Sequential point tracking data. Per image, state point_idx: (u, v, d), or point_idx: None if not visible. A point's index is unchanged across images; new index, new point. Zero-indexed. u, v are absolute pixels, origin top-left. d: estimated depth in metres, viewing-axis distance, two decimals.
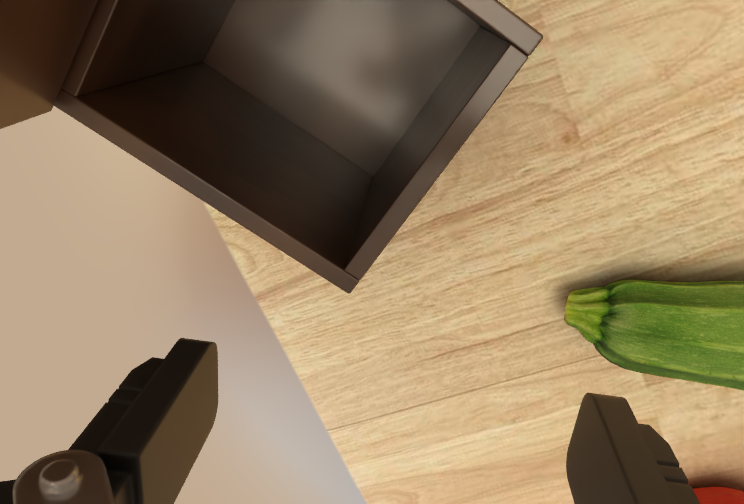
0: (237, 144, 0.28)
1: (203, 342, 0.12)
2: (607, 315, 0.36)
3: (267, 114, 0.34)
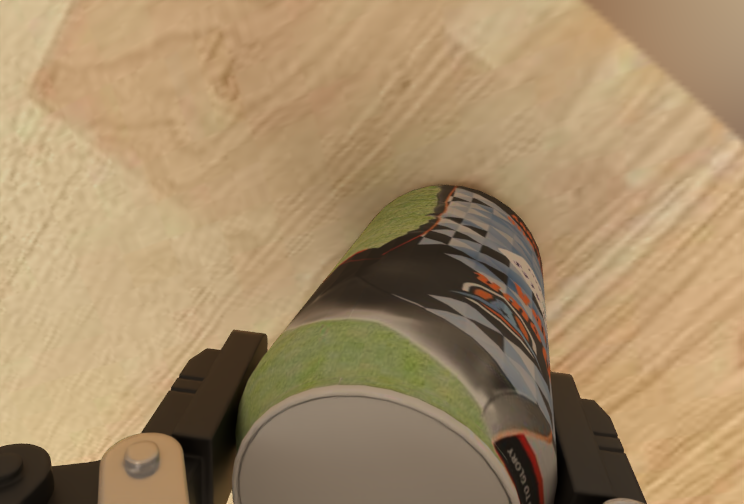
0: None
1: (256, 333, 0.13)
2: None
3: None
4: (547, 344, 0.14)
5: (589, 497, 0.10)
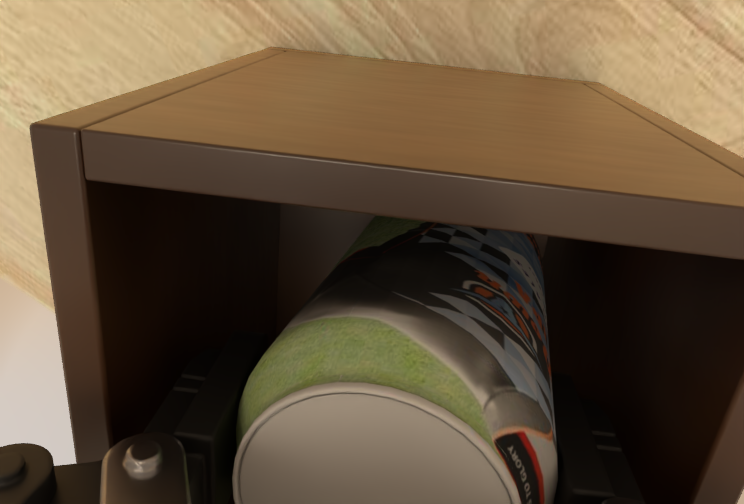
0: None
1: (257, 333, 0.13)
2: None
3: None
4: (547, 342, 0.14)
5: (587, 496, 0.10)
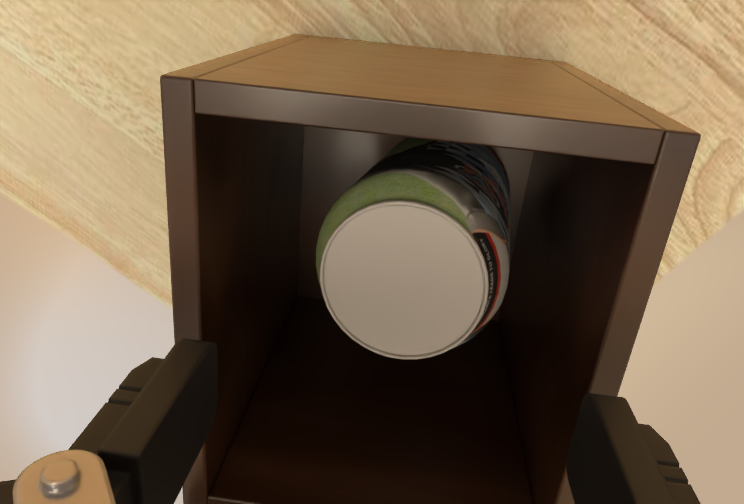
0: (547, 313, 0.21)
1: (203, 342, 0.12)
2: None
3: (520, 247, 0.27)
4: (508, 216, 0.21)
5: None
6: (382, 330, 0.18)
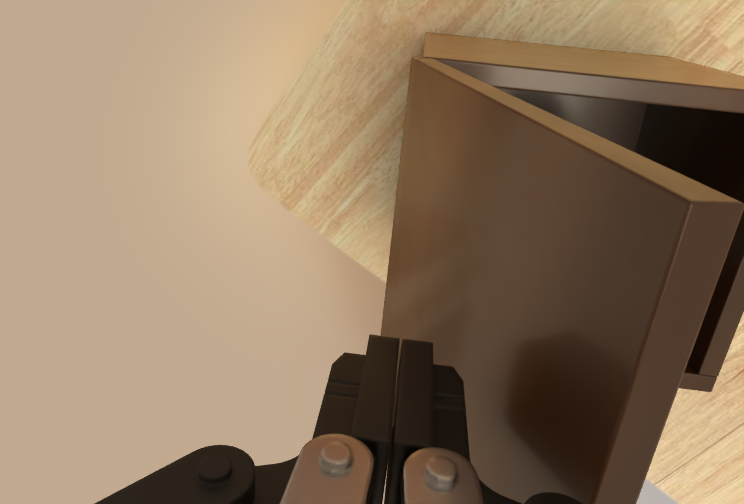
0: None
1: (392, 338, 0.13)
2: None
3: None
4: None
5: (409, 447, 0.10)
6: None
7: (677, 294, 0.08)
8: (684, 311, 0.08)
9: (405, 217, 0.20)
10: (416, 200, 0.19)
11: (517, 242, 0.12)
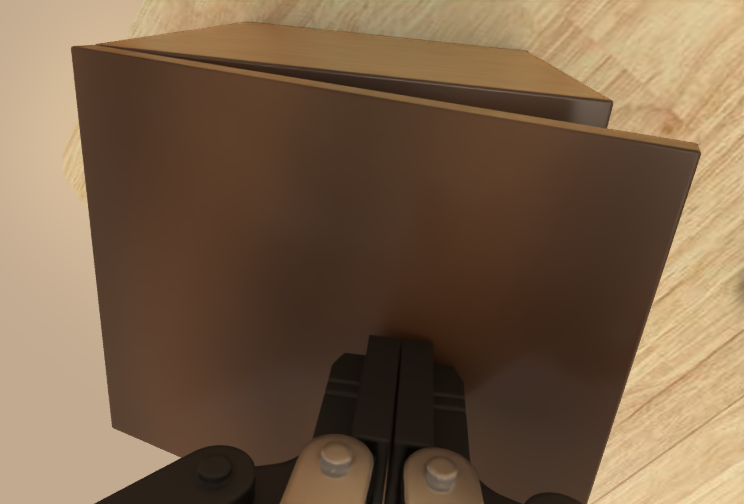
0: None
1: (392, 338, 0.13)
2: None
3: None
4: None
5: (409, 447, 0.10)
6: None
7: (679, 215, 0.11)
8: None
9: (137, 249, 0.16)
10: (168, 224, 0.15)
11: (450, 224, 0.12)
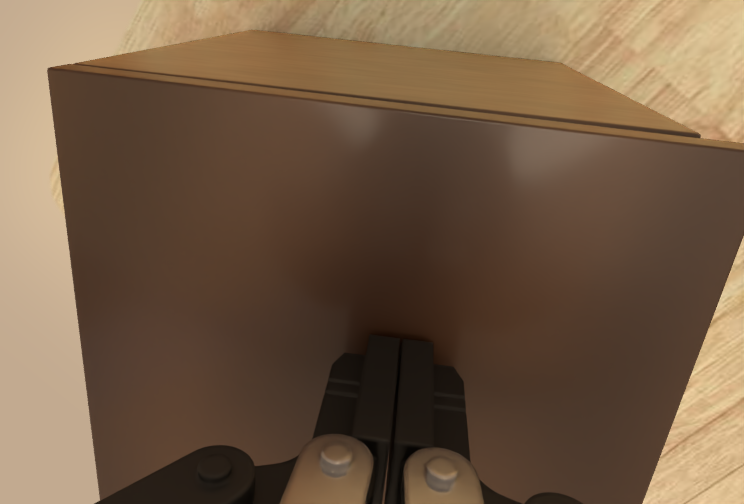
0: None
1: (392, 338, 0.13)
2: None
3: None
4: None
5: (409, 447, 0.10)
6: None
7: None
8: None
9: (141, 298, 0.14)
10: (185, 266, 0.14)
11: (527, 238, 0.12)
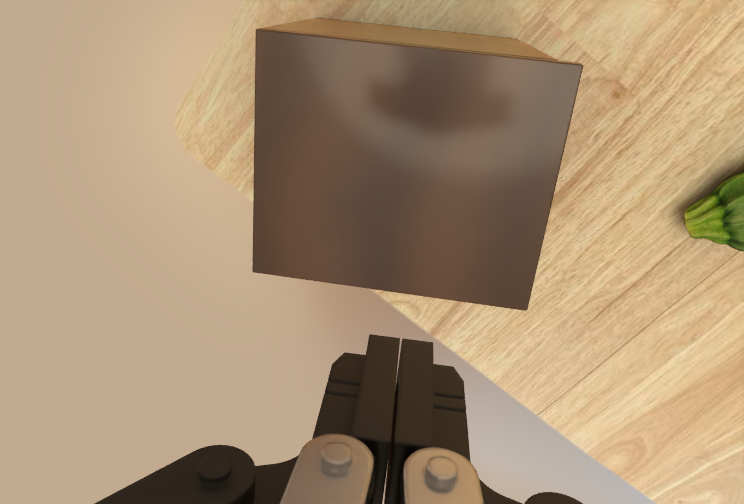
0: None
1: (392, 338, 0.13)
2: (726, 215, 0.40)
3: None
4: None
5: (409, 447, 0.10)
6: None
7: (575, 93, 0.26)
8: None
9: (289, 146, 0.28)
10: (313, 128, 0.28)
11: (478, 108, 0.26)
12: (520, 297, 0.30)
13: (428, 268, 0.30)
